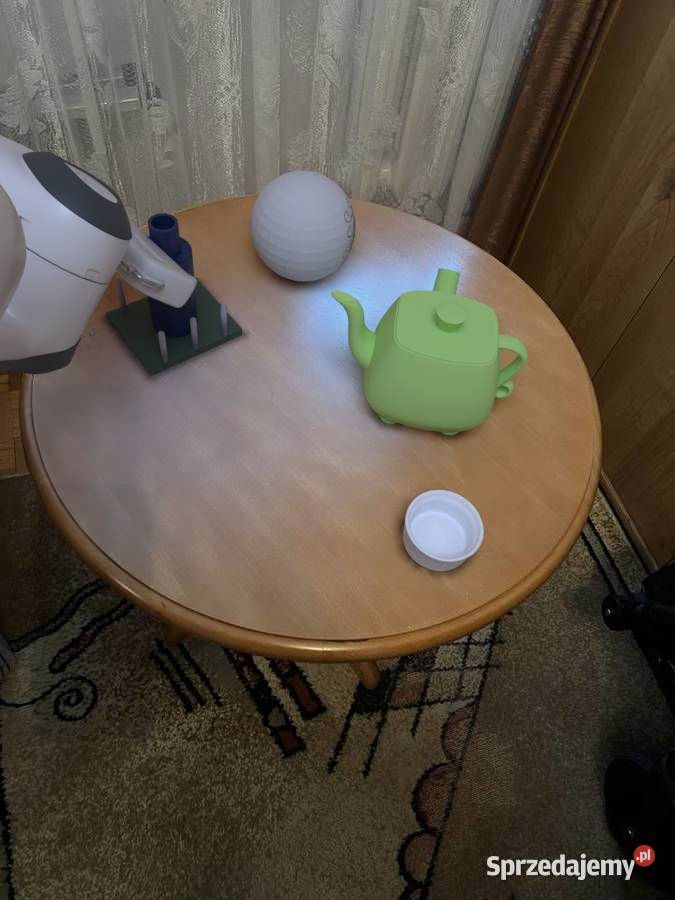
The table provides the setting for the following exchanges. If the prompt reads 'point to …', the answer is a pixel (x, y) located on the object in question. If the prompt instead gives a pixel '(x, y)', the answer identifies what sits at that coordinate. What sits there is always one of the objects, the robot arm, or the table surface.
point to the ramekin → (441, 530)
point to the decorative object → (303, 225)
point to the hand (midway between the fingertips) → (168, 261)
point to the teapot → (433, 358)
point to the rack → (167, 351)
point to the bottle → (180, 252)
